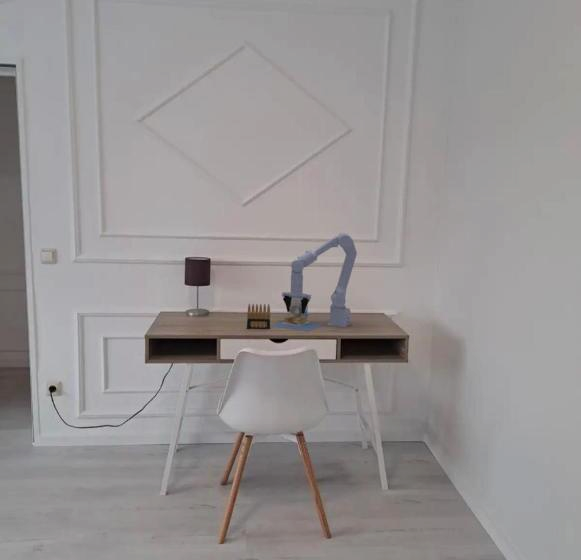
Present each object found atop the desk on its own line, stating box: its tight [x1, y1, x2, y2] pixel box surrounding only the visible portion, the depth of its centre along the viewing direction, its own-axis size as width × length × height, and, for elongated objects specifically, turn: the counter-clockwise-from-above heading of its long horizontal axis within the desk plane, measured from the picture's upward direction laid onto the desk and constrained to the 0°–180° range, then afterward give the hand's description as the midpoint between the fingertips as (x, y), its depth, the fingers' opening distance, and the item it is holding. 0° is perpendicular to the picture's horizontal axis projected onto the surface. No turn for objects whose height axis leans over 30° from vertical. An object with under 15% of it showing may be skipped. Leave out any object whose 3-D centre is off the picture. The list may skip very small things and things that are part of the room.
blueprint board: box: [270, 319, 325, 332], centre depth 246 cm, size 20×18×1 cm
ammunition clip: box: [246, 303, 271, 330], centre depth 236 cm, size 11×2×12 cm, turn 91°
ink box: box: [291, 292, 309, 317], centre depth 269 cm, size 8×5×15 cm, turn 39°
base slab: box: [283, 314, 308, 325], centre depth 251 cm, size 8×8×3 cm
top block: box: [289, 305, 302, 318], centre depth 250 cm, size 4×4×5 cm
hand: (295, 312), depth 250 cm, fingers open, 7 cm apart
